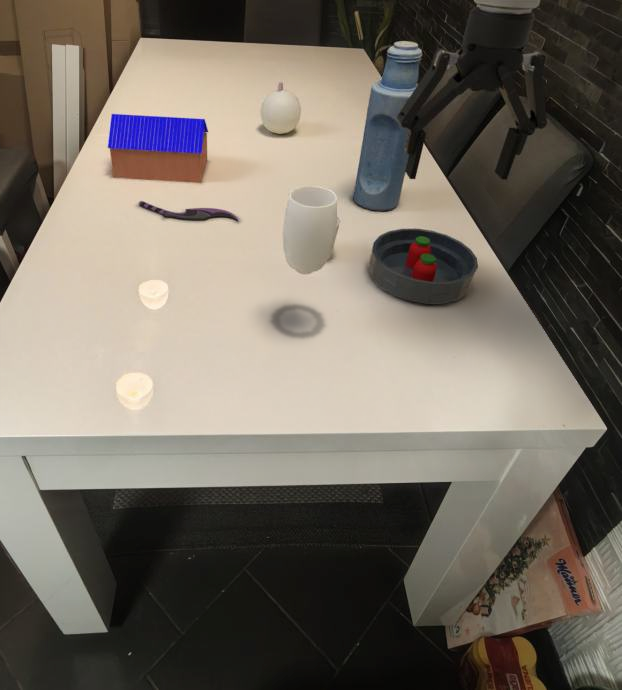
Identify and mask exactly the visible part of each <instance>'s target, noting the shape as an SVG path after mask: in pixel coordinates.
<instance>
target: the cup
mask: <svg viewBox="0 0 622 690" xmlns="http://www.w3.org/2000/svg"><path fill="white" fill-rule="evenodd" d="M337 217H338V197H337V195H336V193H334V191H332V190H330V189H329V188H326V187H322V186H318V185H302V186H297V187H295V188H294V189H292V190H291V191H290V192H289V196H288V198H287V202H286V206H285V210H284V219H283V226H282V247H283V252H284V253H283V254H284V257H285V260H286V264H287V265H288V266H289V267H290V268H291V269H293V270H294V271H296V272H297V273H298V274H301V275H310V274H313V273H315V272H318V271H320V270H322V269H323V267H324V266H325V264H326V262H327V261H328V260H329V259H328V257H329V255H330V252H331V249H332V246H333V243H334V241H335V242H336V239H335V235H336V226H337ZM336 236H337V235H336ZM334 244H335V243H334ZM327 259H328V260H327ZM326 260H327V261H326Z"/></svg>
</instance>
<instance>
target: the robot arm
mask: <svg viewBox="0 0 622 690" xmlns="http://www.w3.org/2000/svg"><path fill="white" fill-rule="evenodd" d="M473 1H474V3H475V4H476V6H473V7H472V8H471V9H470V10H469V14H468V18H467V22H466V26H465V30H464V33H463V38H462V43H461V47H460V49H459V50H458V51H457V53H456V52H450V51H446V50H445V49H443V48H437V49H436V50H435V52H434V54H433V58H432V60H431V64H430V67H429V68H428V69H427V71H426V73H425V74H424V75H423V77H422V78H421V80H420V81H419V83H417V84H418V86H417V87H416V89H415V90H414V92H413V93H412V95H411V96H410V98H409V99H408V101H407V102H406V103H405V105H404V106H403V108H402V109H401V111H400V112H399V114H398V115H397V120H398V122H399V123H400V124H401V126H402V127H404V128H408V132H407V137H406V141H405V146H404V148H405V151H406V153H407V154H409V156H408V161H407V165H406V170H405V174H406V175H407V177H408V178H409V180H416V179H417V178H416V177H417V173H418V169H419V165H420V162H421V157H422V152H423V149H424V145H425V141H426V136H427V133H426V132H425V130H424V128H425V127H426V126H427V125H429V123H431V121H433V120H434V118H436V117H437V116H438V115H439V114H440V113H441V112H442V111H443V110H444V109H445V108H447V106H449V104H451V103H452V102H453V101H454V100H455V99H456V98H457V97H458V96H460V95H463V94H464V93H465V92H466V91H467V90H470V91H471V92H479V91H483V90H485V91H487V92H496V90H499V92H500V94H501V96H502V98H503V100H504V103H505V104H506V107H507V109H508V111H509V113H510V115H511V117H512V120H513V122H514V124H515V126H516V127H508V131H507V134H506V137H505V140H504V142H503V145H502V148H501V152H500V154H499V158H498V160H497V163H496V167H495V169H494V173H495V174H496V175H497V176H498V177H499V179H501V180H504V181H506V180H508V178H509V175H510V172H511V170H512V166H513V163H514V161H515V159H516V156H520V155H521V154H522V152H523V150H524V147H525V145H526V142H527V139H528V136H533V134H534V133H535V131H536V130H537V129H540V130H542V129H543V130H544V128H546V127H547V124H548V118H547V110H546V109H547V108H546V100H545V98H546V97H545V88H544V77H543V72H544V68H545V65H546V61H547V57H546V55H545V54H543V53H542V52H539V51H538V50H536V49H533V50H531V51H529V53H524V48H525V46H526V44H527V43H528V39H529V37H530V33H531V30H532V27H533V25H534V21H535V18H536V15H535V13H534V12H533V9H536V8H537V7H539V6H540V3H541V0H473ZM454 65H455V68H456V70H457V71H455V73H454V74H452V76H450V78H449V79H448V80H447V81H446V84H445V85H443V87H441V88H440V89H439V91H437V92H436V93H435V94H434V95H433V96H432V97H431V98H430V96H431V95H432V94H433V92H434V91H435V89H436V88H437V86H438V84H440V82H441V80H442V79H443V77H444V75H445V74H446V72H448V71H449V70H451V68H452V66H454ZM520 68H521V69H522V70H523V71H524V80H525V88H526V98H527V107H528V113H527V111H526V108H525V107H524V104H523V102H522V99H521V98H520V94H519V93H518V91H517V86H516V84H515V81H514V79H513V77H512V76H513V75H514V74H515V73H516V72H517V71H518V70H519V69H520ZM429 98H430V99H429ZM428 99H429V100H428ZM528 115H529V116H528Z"/></svg>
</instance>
